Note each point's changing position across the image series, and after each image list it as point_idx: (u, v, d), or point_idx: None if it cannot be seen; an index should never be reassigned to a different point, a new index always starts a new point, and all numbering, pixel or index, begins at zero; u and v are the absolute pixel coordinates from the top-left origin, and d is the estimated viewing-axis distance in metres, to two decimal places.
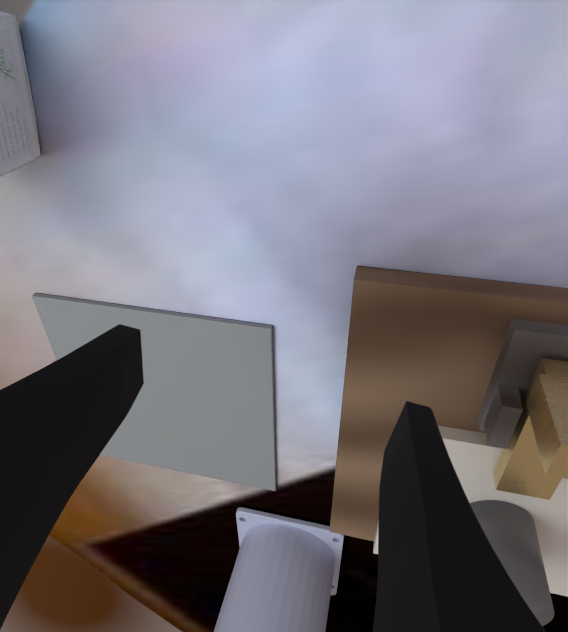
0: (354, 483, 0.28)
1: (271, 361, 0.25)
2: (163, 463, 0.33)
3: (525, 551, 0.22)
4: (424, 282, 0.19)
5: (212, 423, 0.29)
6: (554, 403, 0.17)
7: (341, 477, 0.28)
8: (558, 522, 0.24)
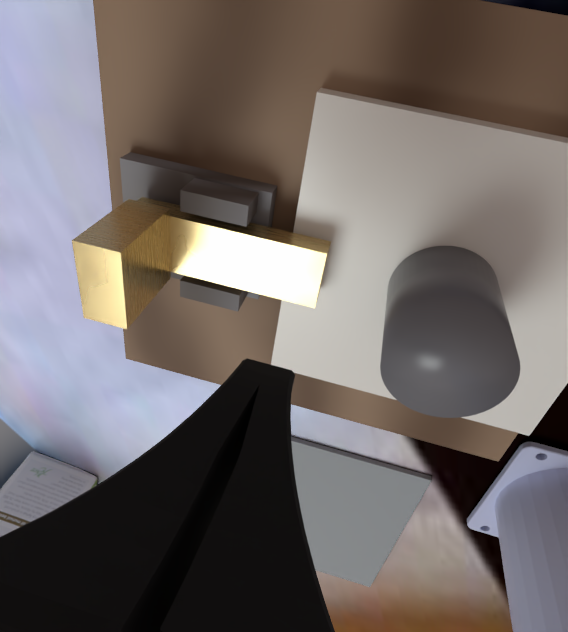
0: (389, 413, 0.23)
1: None
2: (383, 547, 0.31)
3: (394, 303, 0.15)
4: None
5: (319, 490, 0.29)
6: None
7: (378, 422, 0.23)
8: (438, 215, 0.16)
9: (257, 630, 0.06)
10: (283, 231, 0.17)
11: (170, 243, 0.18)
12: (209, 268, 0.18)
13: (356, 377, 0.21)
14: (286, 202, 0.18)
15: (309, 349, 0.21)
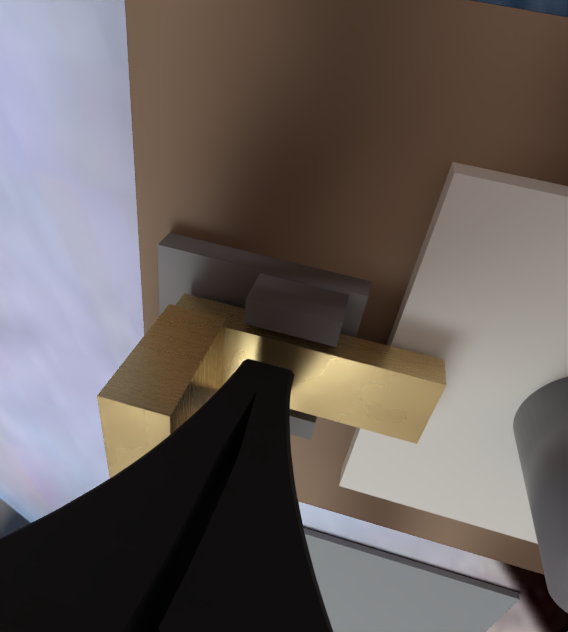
0: (483, 538, 0.18)
1: None
2: None
3: (554, 467, 0.11)
4: None
5: (376, 596, 0.25)
6: None
7: (467, 545, 0.19)
8: None
9: (255, 629, 0.06)
10: (378, 345, 0.13)
11: (224, 358, 0.13)
12: None
13: (452, 506, 0.16)
14: (381, 301, 0.13)
15: (393, 472, 0.16)
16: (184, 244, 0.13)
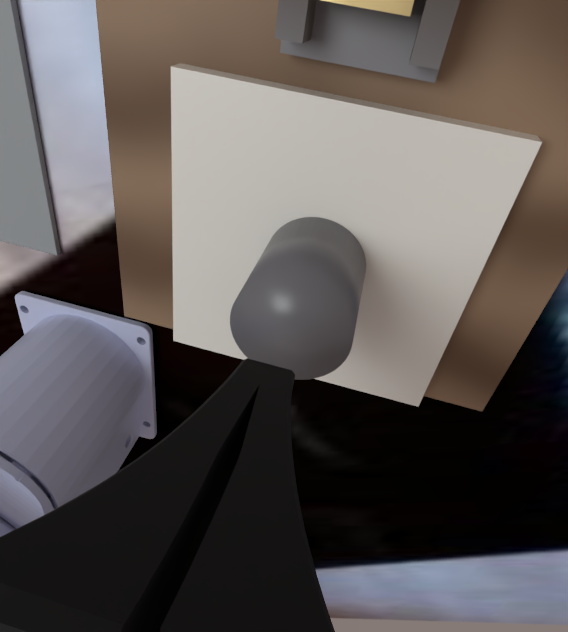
0: (140, 215, 0.20)
1: None
2: None
3: (330, 256, 0.15)
4: None
5: None
6: None
7: (122, 204, 0.20)
8: (396, 258, 0.17)
9: (257, 630, 0.06)
10: None
11: None
12: None
13: (189, 186, 0.18)
14: (411, 90, 0.15)
15: (214, 126, 0.16)
16: None
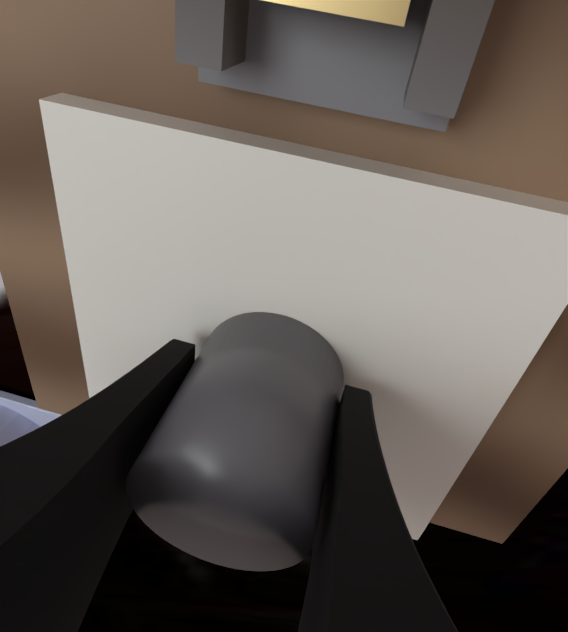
0: (38, 293, 0.14)
1: None
2: None
3: (283, 393, 0.10)
4: None
5: None
6: None
7: (13, 277, 0.14)
8: (386, 370, 0.12)
9: None
10: None
11: None
12: None
13: (90, 265, 0.12)
14: (407, 138, 0.09)
15: (114, 186, 0.11)
16: None
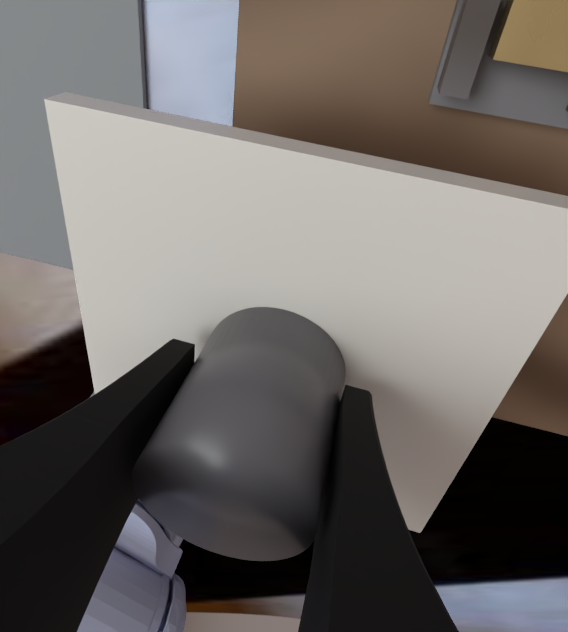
0: None
1: (138, 18, 0.17)
2: (6, 245, 0.24)
3: (285, 385, 0.10)
4: None
5: None
6: None
7: None
8: (387, 363, 0.12)
9: None
10: None
11: None
12: None
13: (95, 262, 0.12)
14: (555, 137, 0.15)
15: (118, 183, 0.11)
16: None
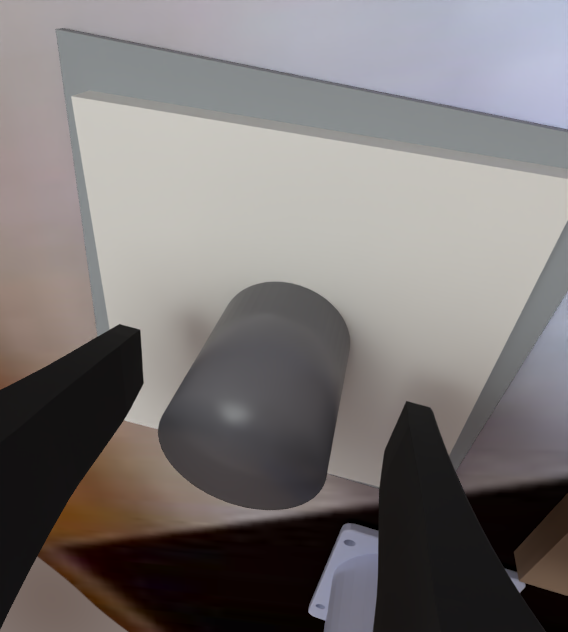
0: None
1: None
2: None
3: (294, 346, 0.11)
4: None
5: None
6: None
7: None
8: (389, 331, 0.13)
9: None
10: None
11: None
12: None
13: (117, 246, 0.14)
14: None
15: (137, 171, 0.12)
16: None
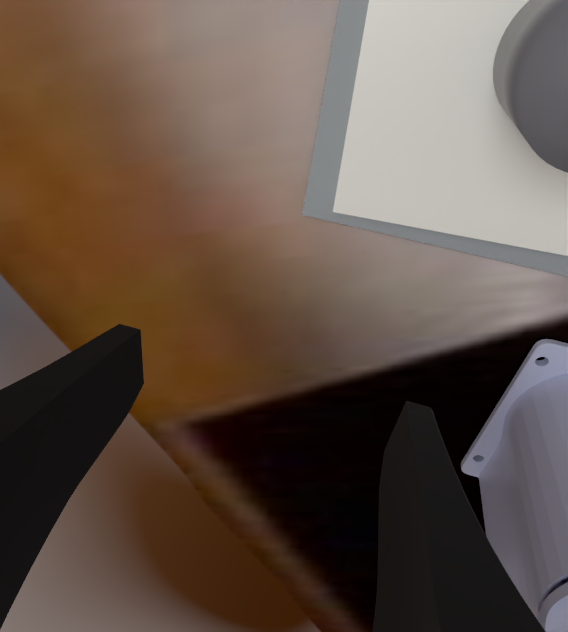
0: None
1: None
2: (446, 235, 0.18)
3: None
4: None
5: None
6: None
7: None
8: None
9: None
10: None
11: None
12: None
13: None
14: None
15: None
16: None
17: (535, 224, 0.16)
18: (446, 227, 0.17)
